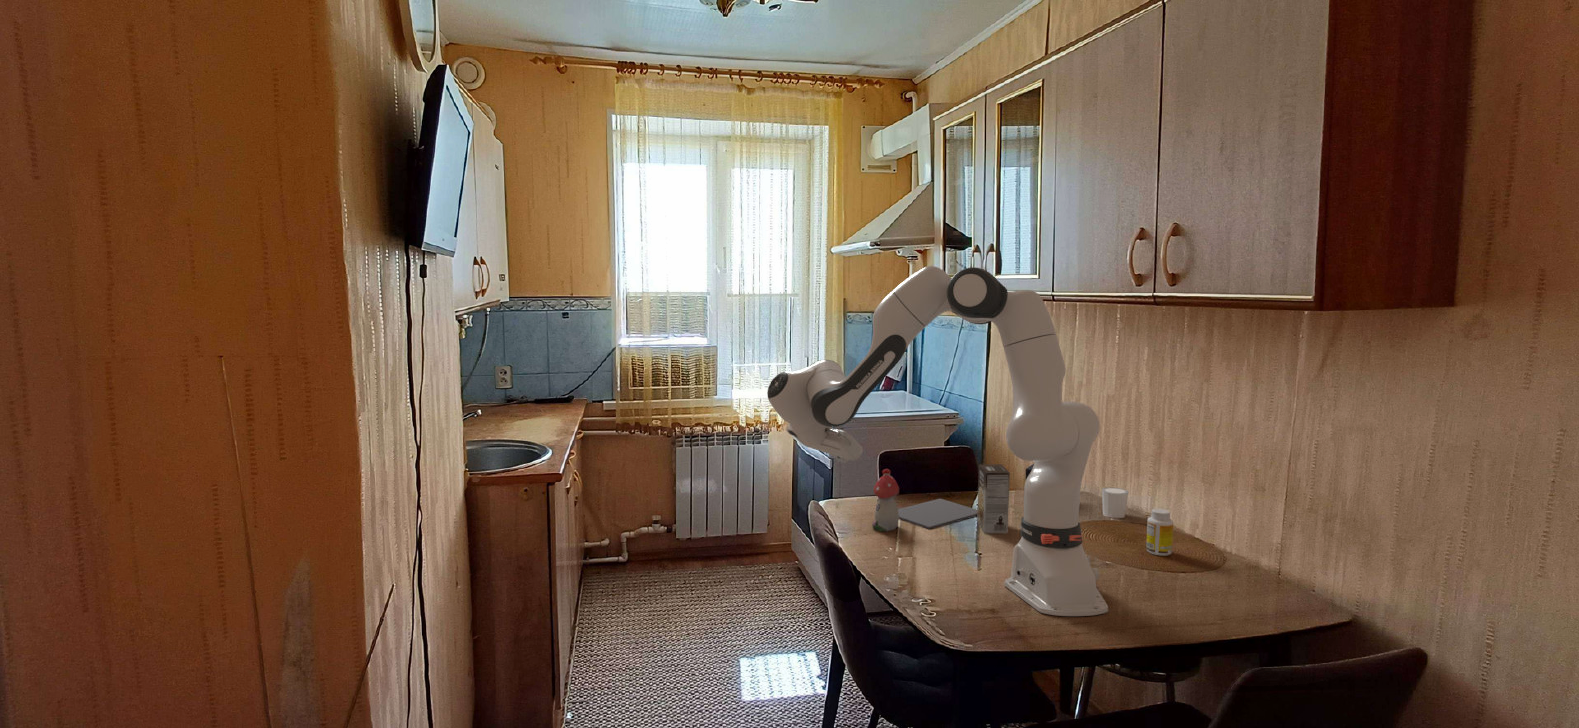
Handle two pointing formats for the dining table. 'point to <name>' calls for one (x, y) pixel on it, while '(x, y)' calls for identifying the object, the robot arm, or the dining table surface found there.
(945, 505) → the mat
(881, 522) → the decorative ornament
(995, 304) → the robot arm
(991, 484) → the coffee box
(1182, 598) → the dining table surface
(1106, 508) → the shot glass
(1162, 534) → the supplement bottle
